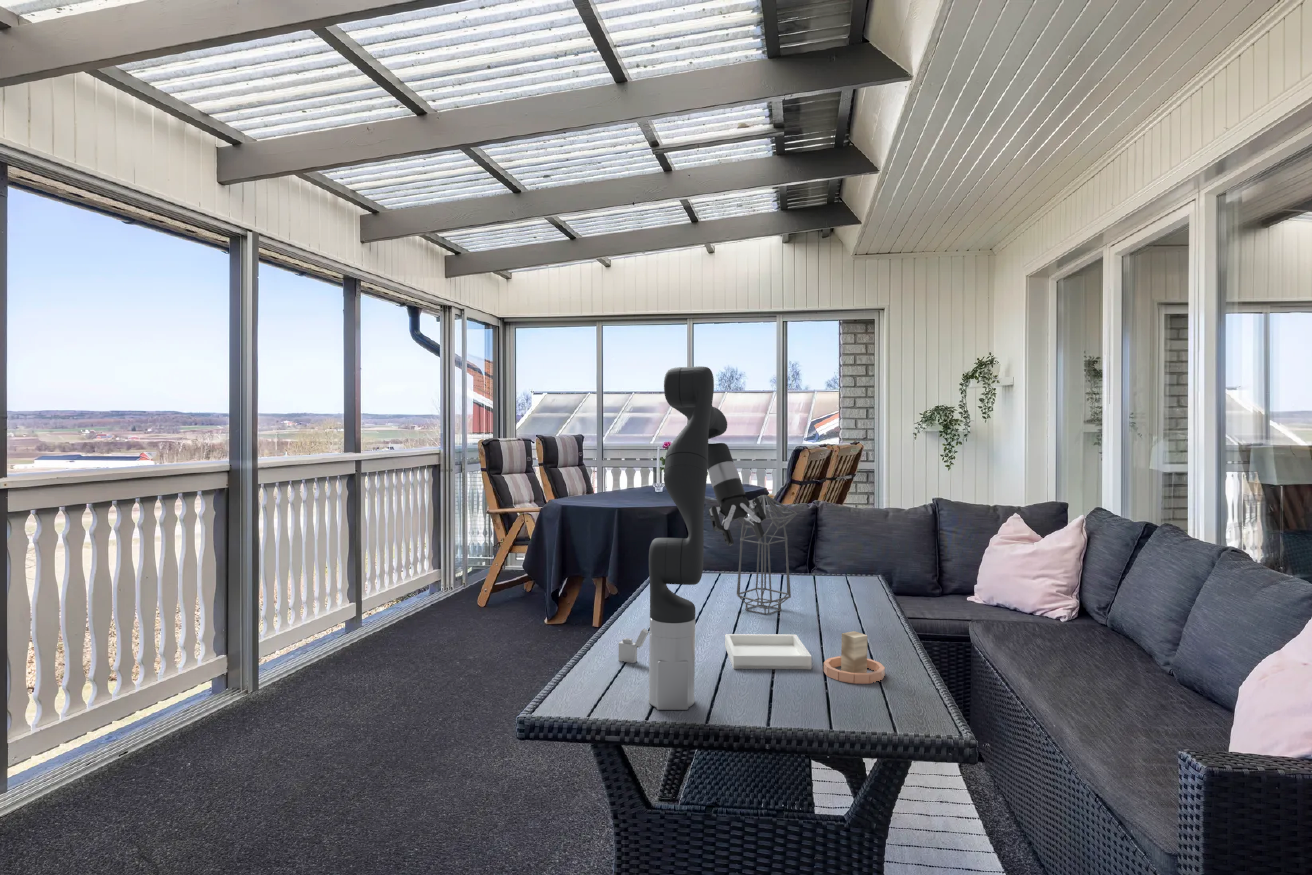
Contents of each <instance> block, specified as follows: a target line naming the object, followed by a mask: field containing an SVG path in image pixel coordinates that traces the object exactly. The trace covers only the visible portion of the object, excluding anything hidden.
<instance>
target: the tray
mask: <svg viewBox="0 0 1312 875" xmlns="http://www.w3.org/2000/svg"><path fill="white" fill-rule="evenodd" d="M724 647H725V650H726V652H727V656H728V659H729V661H730V663H731V666H732V669H733V670H812V664H813V663H812V660H813V659H812V655H811V653H810V652H809V650H808V649H807V648H806V646H805V644H803V642H802V640H800V637H798V635H797V634H787V633H786V634H781V633H780V634H779V633H777V634H775V633H774V634H772V633H771V634H769V633H767V634H765V633H763V634H762V633H761V634H760V633H759V634H758V633H755V634H754V633H753V634H751V633H749V634H747V633H745V634H744V633H743V634H742V633H741V634H740V633H729V634H728V633H725V636H724Z"/></svg>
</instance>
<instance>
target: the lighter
mask: <svg viewBox="0 0 1312 875" xmlns="http://www.w3.org/2000/svg"><path fill="white" fill-rule="evenodd" d="M649 634H650V630H648V629H646V628H642V629H641V631H640V633H639V635H638V637H637V639H636V641H635V642H634V641H633V638H628V637H625V638H623V639H622V640H621V641H620V642H618V662H622V661H624V662H623V663H631V664H635V663H636V661H637V662H638V648H641V647H642V646H643V644H644V643H645V641H646V639H647V636H648V635H649Z"/></svg>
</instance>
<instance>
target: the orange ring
mask: <svg viewBox="0 0 1312 875" xmlns="http://www.w3.org/2000/svg"><path fill="white" fill-rule="evenodd" d="M838 667H841V655H839V656H833V657H828V658H826V659H825V660H824V662H823V672H824V674H825V675H826V677H829V678H831V679H833V680H836V681H839V682H843V683H849V684H857V685H859V684H863V685H864V684H873V682H874V683H877V682H876V681H879V682H881V681H880V680H883V679H884V678H885V677H884V676H886V672H885V670H886V667H885V666H884V665H883V664H882V663H881V662H880V661H877V660H874V659H871V658H868V657H867V668H869V669H868V670H870V669H871V671H870V672H867V673H852V672H846V671H841V669H837V668H838ZM873 670H874V671H873Z"/></svg>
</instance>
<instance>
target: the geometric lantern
mask: <svg viewBox="0 0 1312 875" xmlns="http://www.w3.org/2000/svg"><path fill="white" fill-rule="evenodd" d="M756 498H758V499H759V501H760V503H761V506H762V508H763V511H764V513H765V515H766V519H764V520H763V521H762V522H761V523H763V522H764V521H766V520H771V523H770V525H769V526H768V527H767V530H766V531H765V533H764V535H763V537H764V542H763V540H762V539H759V540H758V539H757V540H758V541H753V540H749V539H748V538H752V537H757V536H756V533H755V531H754V528H753V526H754V525H753V524H752V523H751V522H749V521H747V520H745V519H744V518H743V519H741V520H737V521H738V522H739V523H740V524H741V533H740V539H739V562H738V572H737V573H738V575H737V586H736V596H737V597H738V598H739V599H740V600H741V601H742V602H743V603H744V604H745V609H744V610H745V611H748V612H751V613H752V612H753V613H757V614H761V615H771V614H774V613H777V612H780V611H782V604H783V603H785V602H786V601H787V600H788V599H791V597H792V596H791V594H792V593H791V583H790V582H791V581H790V579H791V577H790V569H789V568H790V567H789V556H788V553H789V551H788V550H789V548H788V540H789V537H788V534H787V531H786V526H787V525H788V524H789V523H790V521H792V520H793V519H794V518H795V517H796V516H797V515H798V513H797V512H796V511H794V510H793V509H791V508H789V507H788V506H786V505H784V504H782V503H781V502H779V501H778V500H775V499H774V498H772V497H770V496H768V494H760V496H757V497H756ZM777 505H779V506H780V507H781V508H784V509H786V510H787V511H782V510H781V508H780V507H779V506H777ZM766 506H767V507H766ZM749 509H750V510H751V511H752V512H754V509H753V508H751V506H749ZM754 513H755V512H754ZM771 513H773V516H774V517H773V516H772V514H771ZM778 513H779V515H780V516H778ZM786 514H787V516H785V515H786ZM747 515H748V514H747ZM767 515H768V517H767ZM745 523H749V525H746V524H745ZM780 524H782V525H780ZM773 525H774V526H775V528H776V530H775V532H774V533H773V535H770V534H767V533H768V532H769V531H770V529H771V527H772V526H773ZM748 528H750V529H751V528H752V530H753V532H754V535H748V536H745V535H746V533H747V530H748ZM782 528H783V534H784V537H783V536H777V535H776V533H777V532H778V530H780V529H782ZM744 529H745V530H744ZM743 533H744V534H743ZM767 537H771V538H770V539H769V541H768V542H767ZM773 538H776V539H777V538H778V539H781V540H775V541H772V540H773ZM744 542H749V543H754V544H758V545H757V560H756V574H755V575H756V579H755V580H756V581H755V588H751V589H748V590H744V591H741V579H742V578H741V577H742V572H741V571H742V556H743V555H742V554H743V543H744ZM781 542H784V546H785V557H786V558H785V561H786V562H785V566H786V592H785V591H784V592H783V591H781V590H776V589H775V590H774V589H772V577H771V575H772V573H771V554H770V552H771V550H770V545H771V544H776V543H777V544H778V543H781ZM760 551H761V555H760ZM760 556H761V557H760ZM760 559H761V560H760ZM760 561H761V562H760ZM767 561H768V562H767ZM767 563H768V564H767ZM760 564H761V565H760ZM760 566H761V567H760ZM767 566H768V585H769V586H768V587H769V588H767ZM759 568H760V569H761V570H760V569H759ZM759 570H760V574H761V575H760V587H759V586H758V585H759V584H758V583H759ZM759 590H760V596H759V592H758V591H759ZM753 591H755V592H756V595H757V597H756V598H755V599H754V598H750V597H747V596H744V594H746V593H750V592H753ZM765 591H769V599H766V598H764V594H765ZM772 593H778V594H781V595H784V596H783V597H781V598H776V599H774V600H773V597H772V595H773V594H772ZM744 599H745V600H748V601H747V602H746V601H745V600H744ZM752 602H755V603H757V604H752ZM772 603H776V604H773V605H771V604H772ZM765 604H768V605H765ZM776 606H778V607H776ZM755 607H756V608H760V609H764V612H761V611H758V610H757V611H756V610H752V609H753V608H755ZM771 608H772V609H775V610H774V611H770V609H771Z"/></svg>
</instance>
